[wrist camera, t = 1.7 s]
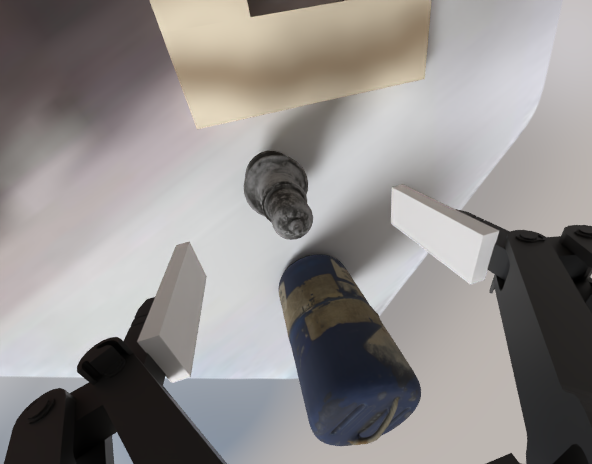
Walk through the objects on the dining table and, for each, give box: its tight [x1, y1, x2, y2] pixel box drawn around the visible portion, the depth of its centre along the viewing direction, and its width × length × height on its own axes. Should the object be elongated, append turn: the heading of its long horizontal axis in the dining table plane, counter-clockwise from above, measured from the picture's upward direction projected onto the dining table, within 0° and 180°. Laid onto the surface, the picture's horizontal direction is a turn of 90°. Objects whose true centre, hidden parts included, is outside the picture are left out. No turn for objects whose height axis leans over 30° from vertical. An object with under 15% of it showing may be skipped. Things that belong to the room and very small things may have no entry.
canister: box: [279, 255, 421, 446], centre depth 25 cm, size 10×10×18 cm
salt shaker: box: [244, 151, 313, 240], centre depth 19 cm, size 6×6×12 cm
